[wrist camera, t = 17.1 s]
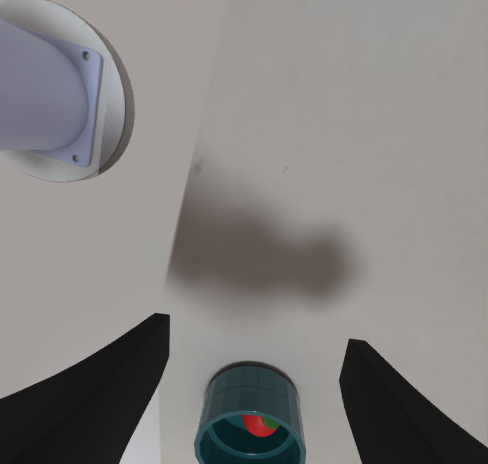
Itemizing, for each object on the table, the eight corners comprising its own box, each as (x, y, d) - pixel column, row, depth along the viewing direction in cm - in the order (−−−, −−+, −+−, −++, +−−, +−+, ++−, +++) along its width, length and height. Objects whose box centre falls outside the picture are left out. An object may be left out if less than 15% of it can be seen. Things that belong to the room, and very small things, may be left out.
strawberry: (229, 423, 21) (247, 435, 18) (242, 380, 23) (261, 384, 20) (263, 436, 22) (286, 449, 19) (273, 393, 24) (296, 399, 21)
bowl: (197, 417, 25) (183, 473, 20) (220, 349, 22) (210, 397, 18) (280, 442, 25) (283, 503, 21) (311, 377, 23) (323, 431, 18)
